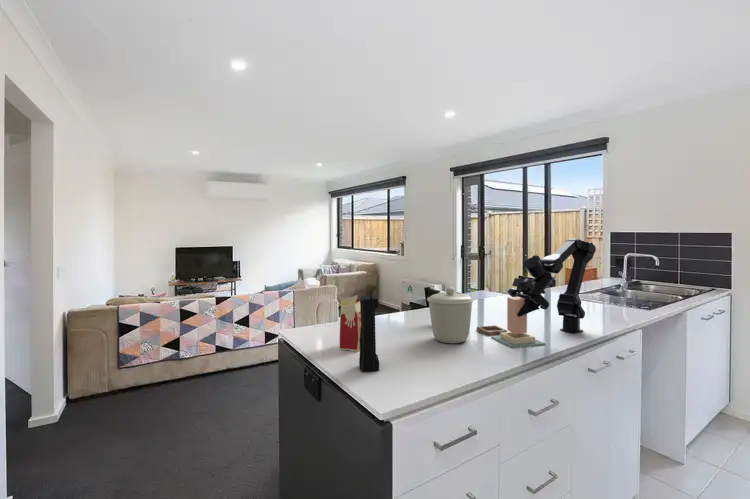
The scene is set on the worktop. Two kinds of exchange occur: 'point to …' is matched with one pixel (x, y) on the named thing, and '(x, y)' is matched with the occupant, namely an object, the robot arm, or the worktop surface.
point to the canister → (450, 316)
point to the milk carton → (350, 324)
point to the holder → (489, 333)
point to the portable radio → (368, 334)
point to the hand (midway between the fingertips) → (513, 314)
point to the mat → (517, 340)
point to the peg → (513, 321)
